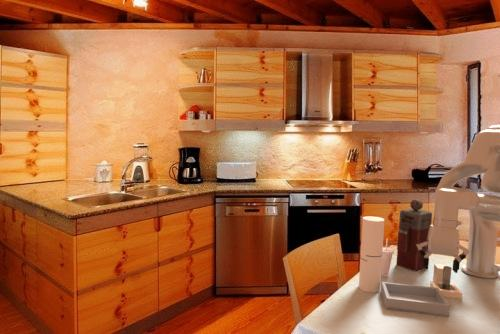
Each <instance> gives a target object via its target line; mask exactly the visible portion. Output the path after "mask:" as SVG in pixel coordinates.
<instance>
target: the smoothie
mask: <svg viewBox="0 0 500 334" xmlns="http://www.w3.org/2000/svg"><path fill="white" fill-rule="evenodd" d="M388 243H389V239H388V238H386V240H385V246H383V251H382V267H381V276H388V275H389V273H390V268H391V265H392V259H393V254H394V249H393V248H390V247H388Z"/></svg>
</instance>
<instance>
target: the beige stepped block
mask: <svg viewBox="0 0 500 334" xmlns="http://www.w3.org/2000/svg"><path fill="white" fill-rule="evenodd" d="M444 266H448V265H447V264H439V263H434V264H433V276H432V280H431V281H430V284H429V287H435V288H439V290H440V291H441V293H442V294H443V296H444V297H445V298H451V299H452V298H453V299H459V300H462V299H463V292H462V290H460V288H459V287H458V285H456V283H453V282H450V290H445V289H442V280H443V268H444Z"/></svg>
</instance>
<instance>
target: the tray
mask: <svg viewBox="0 0 500 334" xmlns="http://www.w3.org/2000/svg"><path fill="white" fill-rule="evenodd" d="M380 293H381V296H382V300H383V303H384V306H385V307H384V308H385V309H386V310H392V311H398V312H399V311H400V312H408V313H417V314H424V315H432V316H433V315H434V316H441V317H450V310H451V308H450V307H451V305H450V303H449V302H448V300H447V299H446V297H444V296H443V294H442V293H441V291H440V290H439V288H435V287H430V286H426V285H414V284H406V283H405V284H404V283H398V282H397V283H396V282H387V281H381V282H380Z"/></svg>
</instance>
